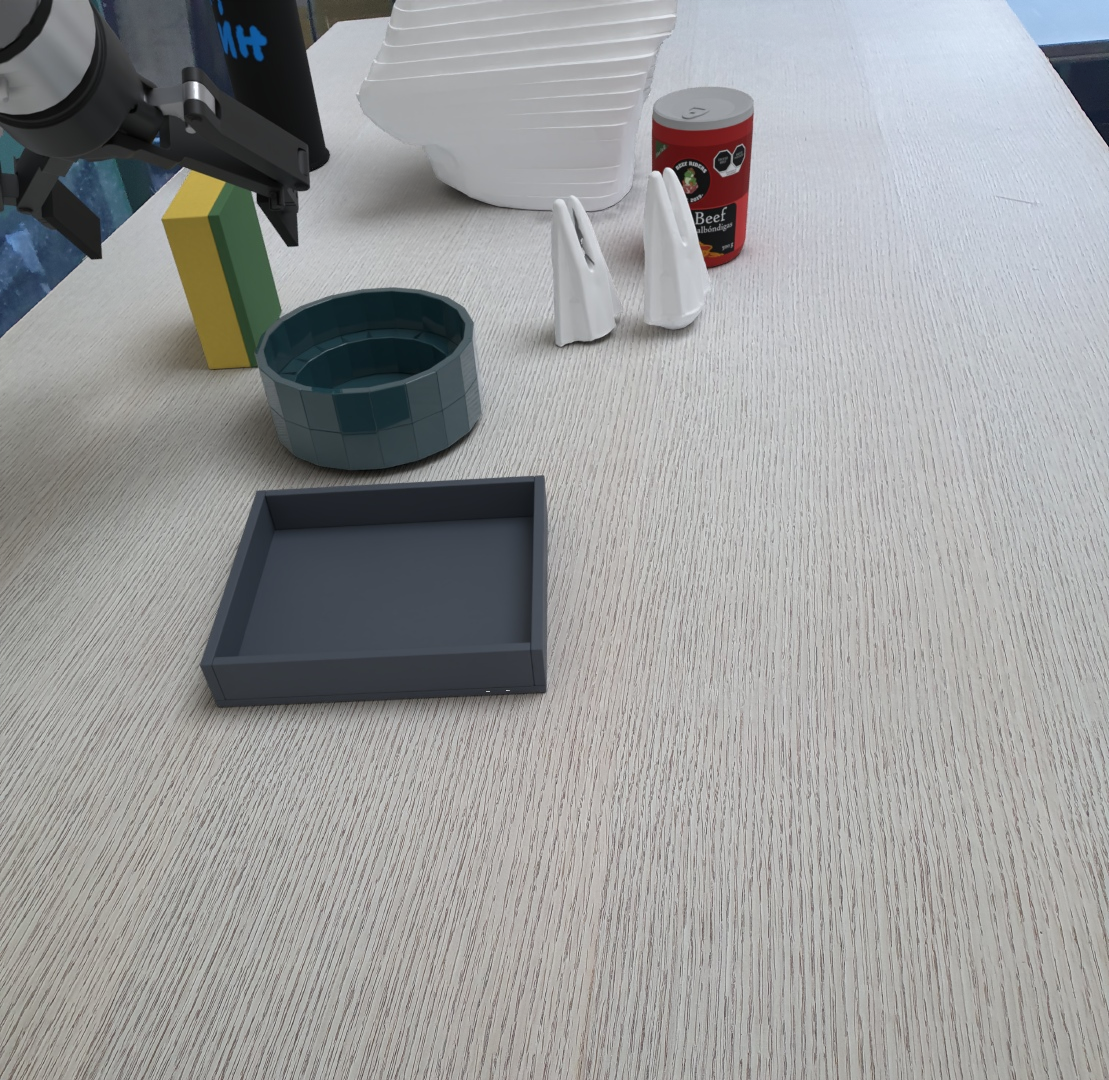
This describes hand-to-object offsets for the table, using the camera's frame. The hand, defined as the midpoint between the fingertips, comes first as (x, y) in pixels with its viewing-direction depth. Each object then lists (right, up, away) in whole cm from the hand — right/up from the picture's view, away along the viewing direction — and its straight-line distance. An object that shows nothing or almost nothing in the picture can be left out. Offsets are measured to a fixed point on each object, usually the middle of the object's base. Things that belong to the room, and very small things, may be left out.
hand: (193, 233), depth 73 cm
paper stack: (+23, +20, +30) cm, 42 cm away
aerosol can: (-2, +24, +37) cm, 44 cm away
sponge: (+1, -3, +11) cm, 11 cm away
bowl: (+13, -12, +1) cm, 18 cm away
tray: (+16, -27, -12) cm, 33 cm away
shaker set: (+31, -4, +8) cm, 32 cm away
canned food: (+37, +6, +17) cm, 41 cm away
